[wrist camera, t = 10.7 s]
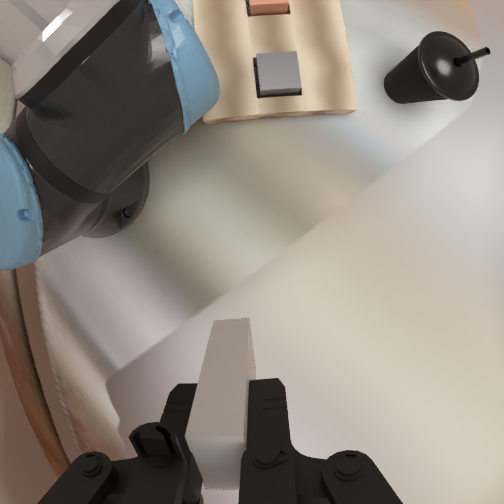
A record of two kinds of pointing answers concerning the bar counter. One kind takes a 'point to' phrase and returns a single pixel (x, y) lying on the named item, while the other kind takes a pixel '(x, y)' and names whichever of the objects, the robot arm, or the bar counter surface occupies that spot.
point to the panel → (276, 40)
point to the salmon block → (268, 7)
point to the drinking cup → (435, 71)
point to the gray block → (278, 74)
